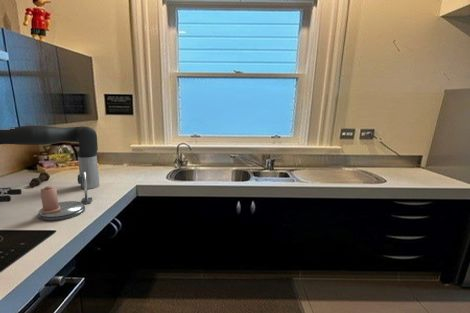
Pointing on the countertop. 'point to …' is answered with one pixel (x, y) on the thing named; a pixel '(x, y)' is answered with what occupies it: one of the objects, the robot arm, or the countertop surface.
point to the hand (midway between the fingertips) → (16, 194)
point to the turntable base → (61, 217)
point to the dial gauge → (83, 180)
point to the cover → (49, 200)
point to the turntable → (65, 209)
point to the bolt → (39, 179)
